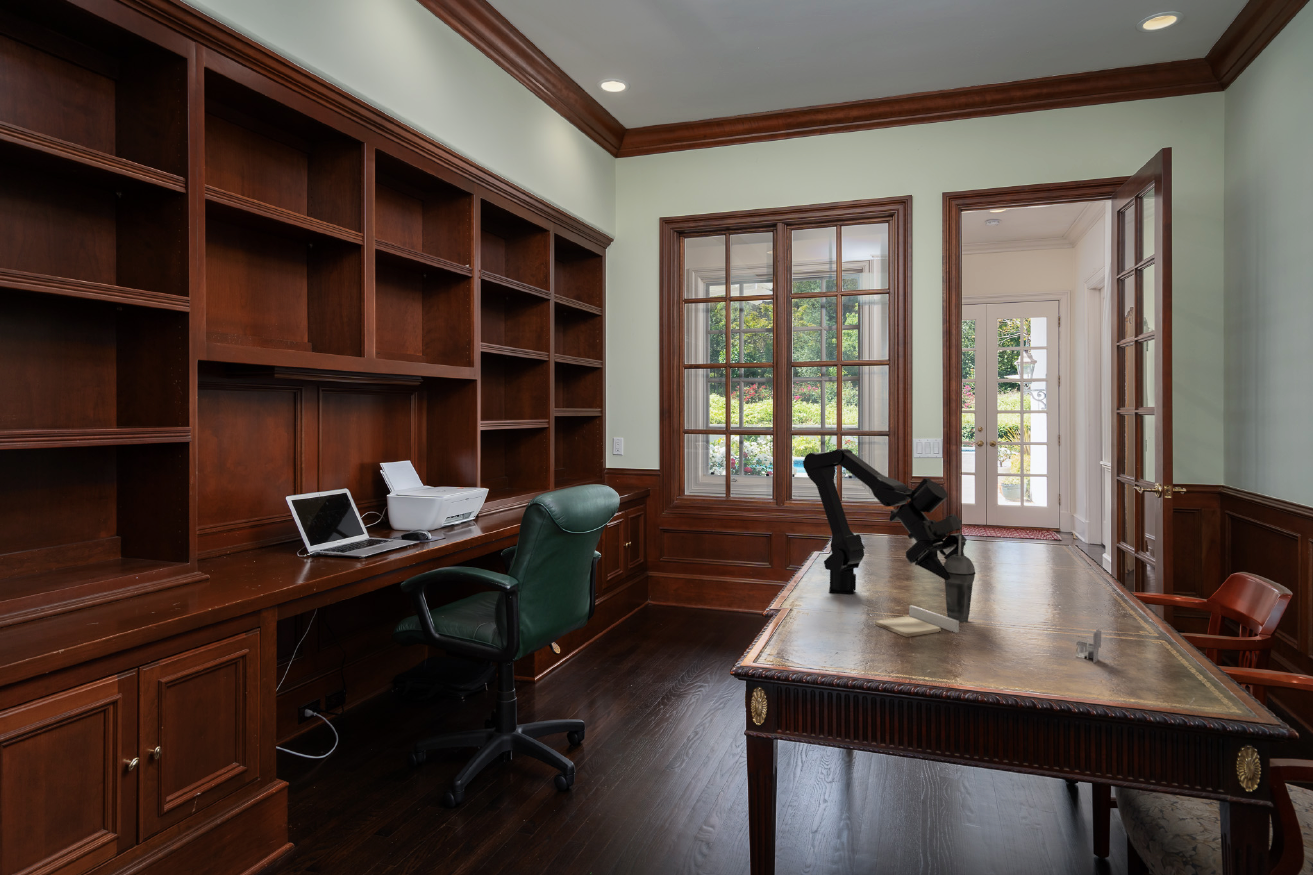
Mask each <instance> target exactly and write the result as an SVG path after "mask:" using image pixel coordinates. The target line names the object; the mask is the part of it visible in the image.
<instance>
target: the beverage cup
mask: <svg viewBox="0 0 1313 875" xmlns="http://www.w3.org/2000/svg"><path fill="white" fill-rule="evenodd" d="M943 566H944V568H945V569H946V571H947V572H948V574H949V576H950V579H949V580H945V579H943V580H944V590H945V591H944V592H945V604H946V606H945V607H946V614H947V616H946V617H949V618H951V619H954V620H957V621H959V622H960V623H962V624H963V623H964V622H965V623H968V622H969V616H970V611H971V601H972V592H973V585H974V581H975V577H976V576H975V575H976V569H975V565H974V563H973V562H972V560H971V559H970V558H969V557H968V556H966V555H965V554H964V555H961V535H959V547H958V554H955V555H952V556H950V557H949V558H948V559H947V560H946V559H945V561H944V564H943ZM960 623H959V624H960Z"/></svg>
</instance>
